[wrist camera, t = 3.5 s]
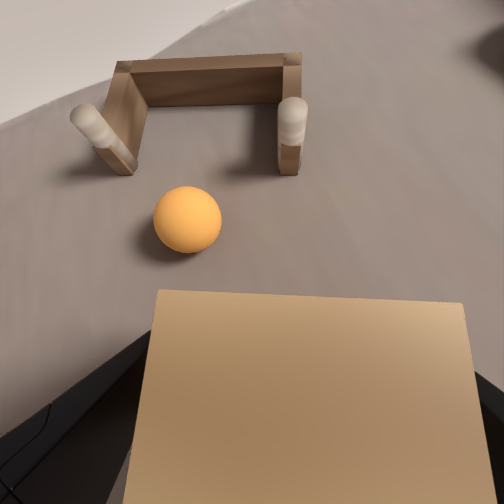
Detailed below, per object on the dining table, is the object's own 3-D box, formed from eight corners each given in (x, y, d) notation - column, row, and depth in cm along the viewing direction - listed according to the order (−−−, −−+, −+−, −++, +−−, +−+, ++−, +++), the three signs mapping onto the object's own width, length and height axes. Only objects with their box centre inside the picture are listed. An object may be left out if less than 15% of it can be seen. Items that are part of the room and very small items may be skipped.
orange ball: (210, 269, 17) (192, 250, 14) (158, 248, 18) (127, 224, 14) (236, 217, 18) (225, 185, 15) (185, 198, 19) (163, 164, 15)
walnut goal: (300, 174, 19) (307, 120, 14) (115, 175, 20) (66, 125, 16) (300, 90, 21) (307, 19, 17) (135, 96, 23) (97, 32, 18)
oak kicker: (324, 418, 14) (549, 801, 2) (240, 411, 15) (90, 700, 3) (322, 330, 16) (462, 303, 4) (246, 326, 16) (157, 289, 4)
